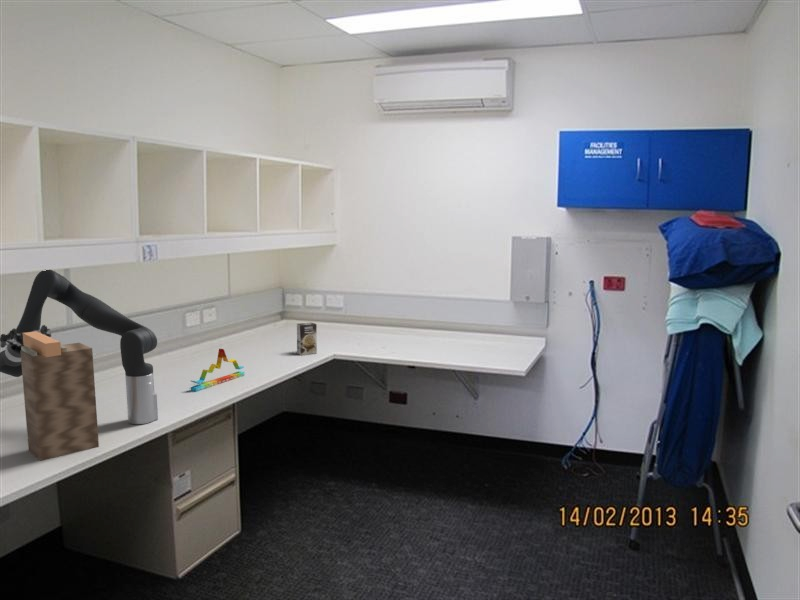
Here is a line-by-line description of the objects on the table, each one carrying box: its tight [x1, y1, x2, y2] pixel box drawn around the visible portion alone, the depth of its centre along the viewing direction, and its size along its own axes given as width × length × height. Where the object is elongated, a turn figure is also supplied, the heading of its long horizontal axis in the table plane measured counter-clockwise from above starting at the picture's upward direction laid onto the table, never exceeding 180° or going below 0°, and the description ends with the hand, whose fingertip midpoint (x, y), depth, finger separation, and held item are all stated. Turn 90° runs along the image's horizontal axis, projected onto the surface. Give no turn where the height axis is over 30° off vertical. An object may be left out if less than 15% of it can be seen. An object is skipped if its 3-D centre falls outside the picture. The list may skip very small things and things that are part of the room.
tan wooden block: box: [23, 331, 62, 357], centre depth 198 cm, size 4×24×4 cm, turn 44°
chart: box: [190, 348, 245, 393], centre depth 281 cm, size 30×3×15 cm, turn 153°
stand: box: [20, 342, 100, 462], centre depth 201 cm, size 17×12×33 cm
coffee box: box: [296, 322, 318, 356], centre depth 339 cm, size 9×6×16 cm
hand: (30, 329), depth 205 cm, fingers open, 8 cm apart
